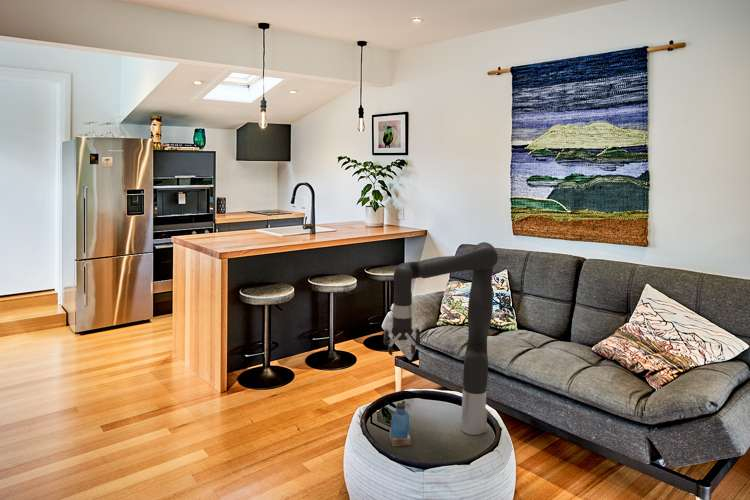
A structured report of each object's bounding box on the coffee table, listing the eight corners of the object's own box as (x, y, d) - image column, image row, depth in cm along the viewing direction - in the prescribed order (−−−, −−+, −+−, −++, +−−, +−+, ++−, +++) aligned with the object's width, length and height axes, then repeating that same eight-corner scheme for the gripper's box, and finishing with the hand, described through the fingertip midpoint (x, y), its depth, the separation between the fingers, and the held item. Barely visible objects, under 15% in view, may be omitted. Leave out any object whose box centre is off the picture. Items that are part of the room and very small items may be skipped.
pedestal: (407, 435, 212) (407, 428, 212) (410, 445, 205) (411, 437, 205) (389, 436, 211) (389, 429, 211) (392, 446, 204) (392, 439, 204)
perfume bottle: (407, 438, 204) (408, 409, 202) (390, 437, 205) (391, 407, 203) (408, 430, 210) (409, 401, 208) (393, 428, 211) (393, 400, 209)
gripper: (418, 311, 217) (416, 349, 220) (382, 312, 215) (382, 351, 218) (422, 317, 210) (421, 356, 213) (386, 318, 208) (385, 358, 211)
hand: (401, 354), depth 215 cm, fingers open, 8 cm apart
